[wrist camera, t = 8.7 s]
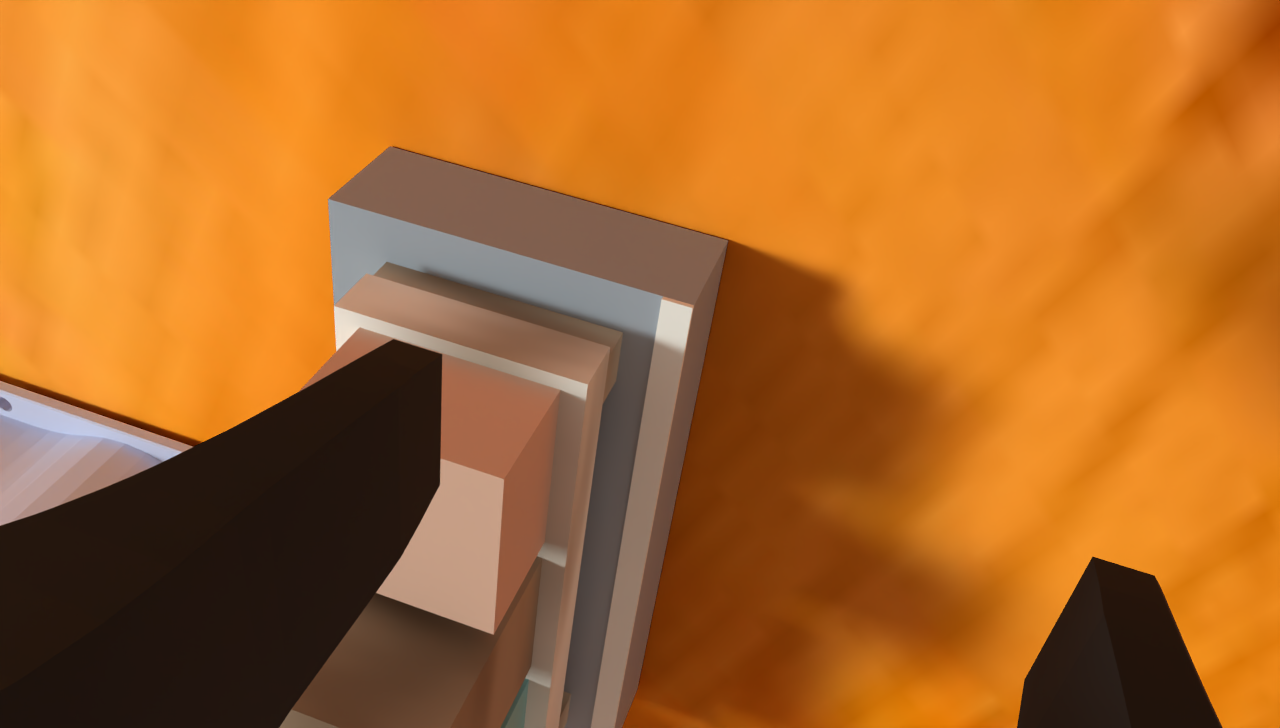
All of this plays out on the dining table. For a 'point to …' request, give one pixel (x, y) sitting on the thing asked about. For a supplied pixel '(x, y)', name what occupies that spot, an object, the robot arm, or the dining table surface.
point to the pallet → (569, 441)
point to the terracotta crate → (476, 490)
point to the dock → (590, 291)
